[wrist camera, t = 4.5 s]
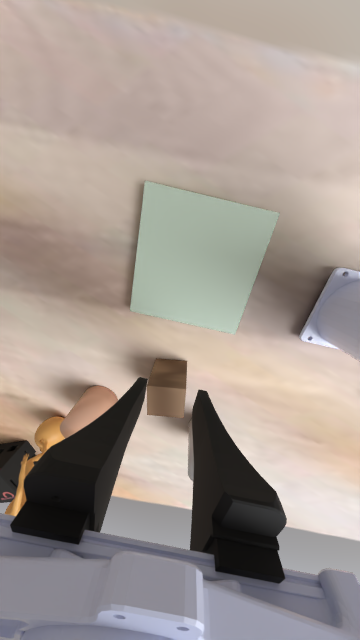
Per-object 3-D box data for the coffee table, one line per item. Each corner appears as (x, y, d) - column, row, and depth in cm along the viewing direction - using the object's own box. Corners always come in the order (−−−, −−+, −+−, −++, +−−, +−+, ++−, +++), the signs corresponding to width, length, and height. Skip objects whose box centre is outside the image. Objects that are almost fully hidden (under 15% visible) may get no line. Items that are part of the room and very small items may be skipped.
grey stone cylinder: (226, 418, 25) (236, 465, 19) (216, 440, 26) (223, 490, 21) (192, 411, 25) (193, 456, 19) (185, 434, 26) (183, 482, 21)
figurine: (48, 397, 25) (-65, 509, 14) (88, 406, 25) (7, 524, 14) (50, 434, 28) (-43, 551, 17) (86, 442, 28) (17, 563, 17)
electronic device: (-21, 445, 31) (-59, 478, 26) (28, 438, 29) (-3, 472, 25) (2, 470, 33) (-28, 505, 29) (49, 465, 32) (24, 501, 27)
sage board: (274, 215, 16) (279, 213, 15) (232, 330, 20) (234, 334, 19) (147, 185, 15) (144, 180, 14) (132, 308, 20) (129, 311, 19)
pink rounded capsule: (119, 390, 24) (102, 422, 19) (116, 414, 26) (99, 450, 21) (84, 382, 24) (59, 413, 19) (83, 407, 26) (60, 441, 21)
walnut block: (186, 360, 22) (186, 389, 17) (184, 385, 23) (183, 418, 18) (156, 358, 22) (146, 385, 17) (155, 383, 23) (147, 414, 19)
